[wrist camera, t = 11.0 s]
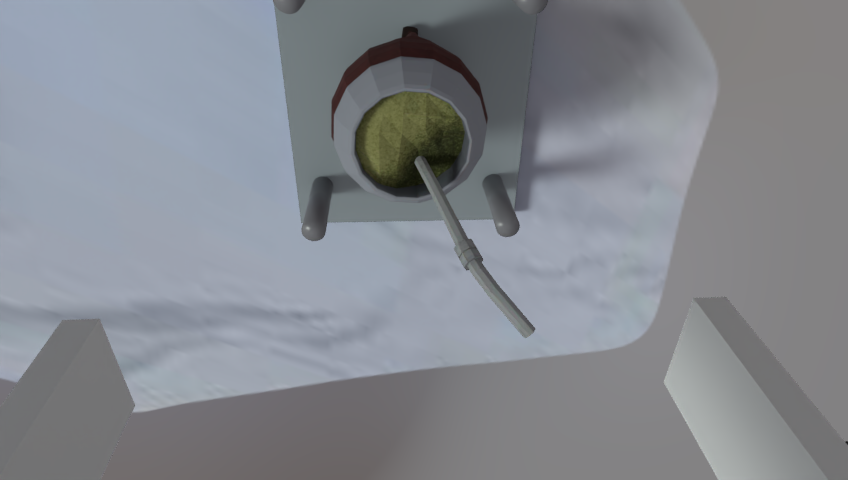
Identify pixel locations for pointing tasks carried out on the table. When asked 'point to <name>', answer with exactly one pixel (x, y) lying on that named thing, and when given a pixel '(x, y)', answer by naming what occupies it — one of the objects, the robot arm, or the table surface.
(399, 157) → the mate gourd
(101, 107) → the table surface
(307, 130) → the tray
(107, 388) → the robot arm
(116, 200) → the table surface
